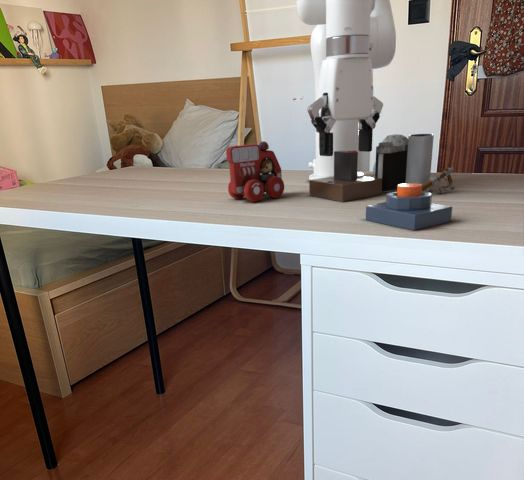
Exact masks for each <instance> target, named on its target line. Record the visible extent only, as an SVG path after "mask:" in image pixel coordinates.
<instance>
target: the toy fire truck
mask: <svg viewBox="0 0 524 480" xmlns="http://www.w3.org/2000/svg"><path fill="white" fill-rule="evenodd" d="M269 149H270V146H269V144H268V142H267V141H261V142H259V143H258V144H256V143H255V144H254V143H251V144H240V145H232V146H231V145H230V146H228V147H227V148H226V150H225V154H226V155H225V156H226V161H227V162H228V167H229V178H230V181H229V183H228V185H227V191H228V194H229V196H230V197H231V198H233V199H235V200H242V199H243V198H245V199H247V201H249V202H253V203H256V202H259V201H260V200H261V199H262V198H263V196H264V194H265V193H266V195H267V196H268V197H269V198H273V199H279V198H280V197H281V196H282V195H283V194H284V192H285V182H284V180H283V178H282V167H281V164H280V162H279V161H278V158H277V156H276V154H275V152H274V150H269Z"/></svg>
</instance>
